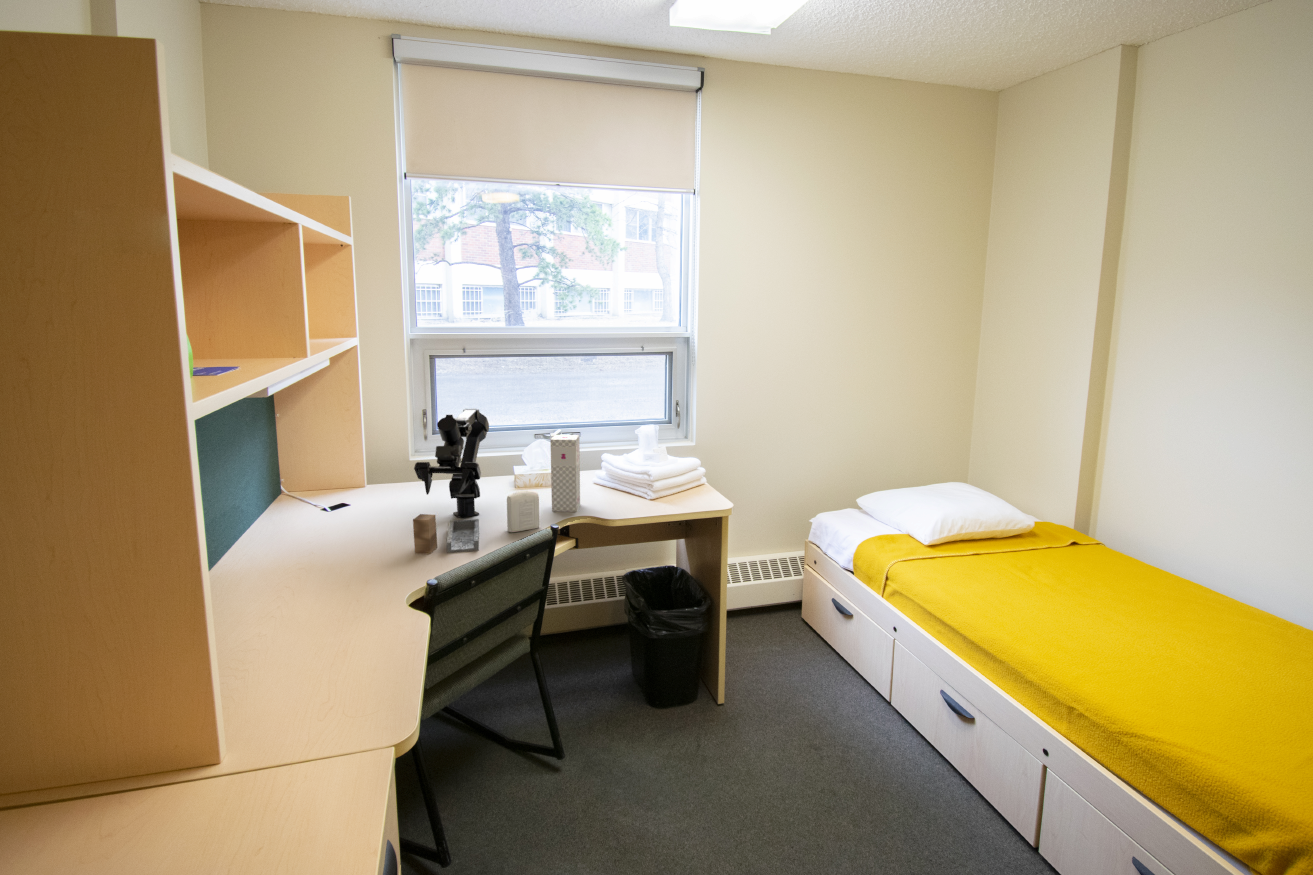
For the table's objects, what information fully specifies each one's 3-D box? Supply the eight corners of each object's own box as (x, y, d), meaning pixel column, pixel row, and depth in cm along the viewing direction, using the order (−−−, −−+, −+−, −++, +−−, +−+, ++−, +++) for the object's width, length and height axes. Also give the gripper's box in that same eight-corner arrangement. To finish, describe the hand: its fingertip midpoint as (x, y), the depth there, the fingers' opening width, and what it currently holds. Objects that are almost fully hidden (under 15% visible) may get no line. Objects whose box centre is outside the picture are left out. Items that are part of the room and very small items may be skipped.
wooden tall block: (437, 547, 198) (435, 514, 196) (430, 553, 193) (428, 520, 191) (422, 547, 198) (420, 514, 196) (415, 553, 194) (412, 519, 192)
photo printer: (536, 524, 219) (535, 487, 217) (541, 528, 216) (540, 490, 213) (505, 530, 214) (504, 492, 211) (510, 534, 210) (509, 495, 208)
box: (576, 511, 233) (575, 439, 228) (551, 511, 233) (550, 439, 228) (580, 504, 241) (579, 435, 236) (556, 503, 241) (555, 434, 236)
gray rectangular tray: (450, 530, 213) (450, 520, 212) (479, 528, 215) (478, 519, 215) (447, 552, 194) (446, 542, 193) (478, 550, 196) (478, 540, 196)
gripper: (415, 435, 204) (403, 477, 194) (478, 435, 205) (469, 477, 195) (424, 457, 213) (413, 499, 203) (484, 458, 213) (476, 499, 203)
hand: (442, 493), depth 201 cm, fingers open, 9 cm apart
